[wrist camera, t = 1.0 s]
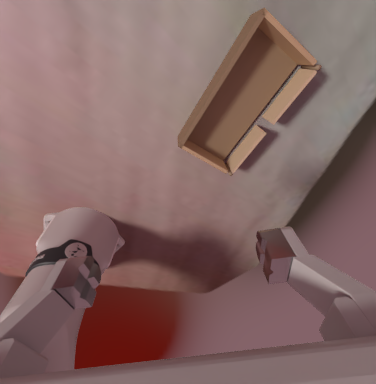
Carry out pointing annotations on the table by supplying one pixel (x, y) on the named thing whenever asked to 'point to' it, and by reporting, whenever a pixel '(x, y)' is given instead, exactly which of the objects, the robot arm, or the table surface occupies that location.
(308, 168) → the table surface
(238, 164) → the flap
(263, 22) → the carton
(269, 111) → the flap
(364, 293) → the robot arm
